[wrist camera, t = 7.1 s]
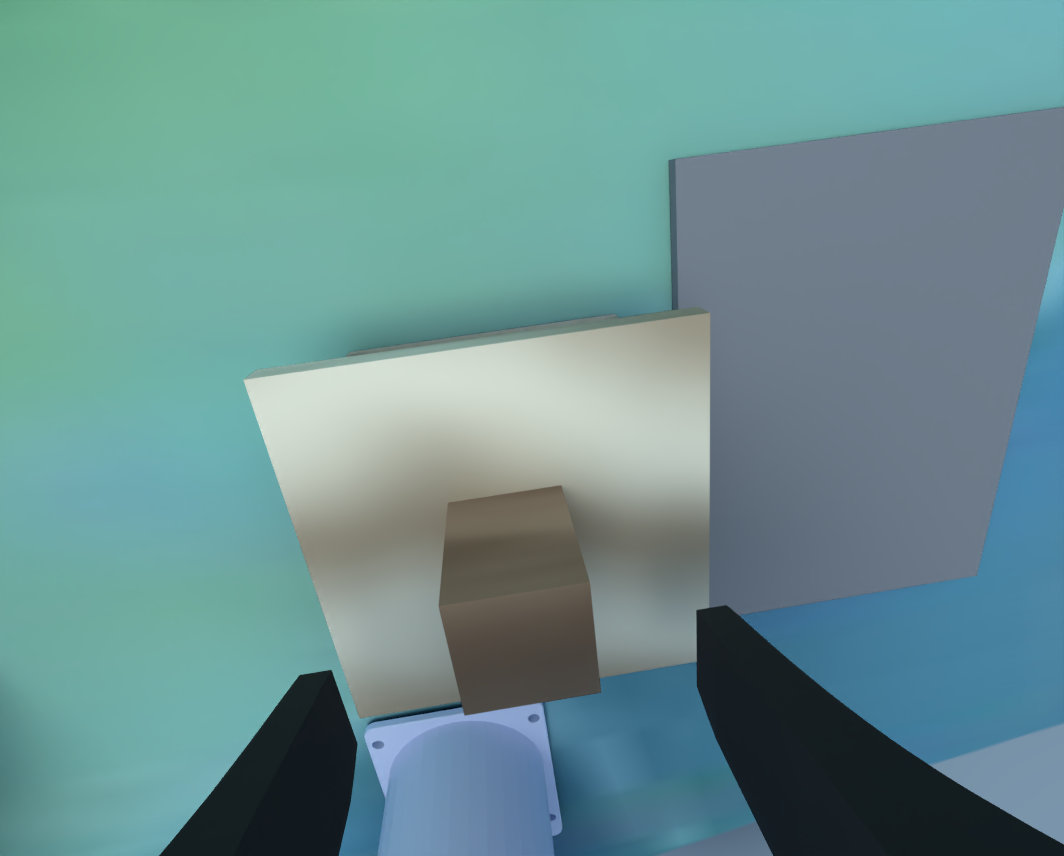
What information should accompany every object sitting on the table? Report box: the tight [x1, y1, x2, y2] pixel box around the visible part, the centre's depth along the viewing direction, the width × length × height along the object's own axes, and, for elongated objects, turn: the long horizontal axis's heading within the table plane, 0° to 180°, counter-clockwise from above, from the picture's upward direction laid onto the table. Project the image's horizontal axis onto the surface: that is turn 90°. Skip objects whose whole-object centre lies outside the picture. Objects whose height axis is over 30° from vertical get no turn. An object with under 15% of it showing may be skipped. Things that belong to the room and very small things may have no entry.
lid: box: [244, 307, 710, 718], centre depth 14 cm, size 11×11×5 cm
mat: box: [669, 107, 1064, 615], centre depth 21 cm, size 18×13×1 cm
